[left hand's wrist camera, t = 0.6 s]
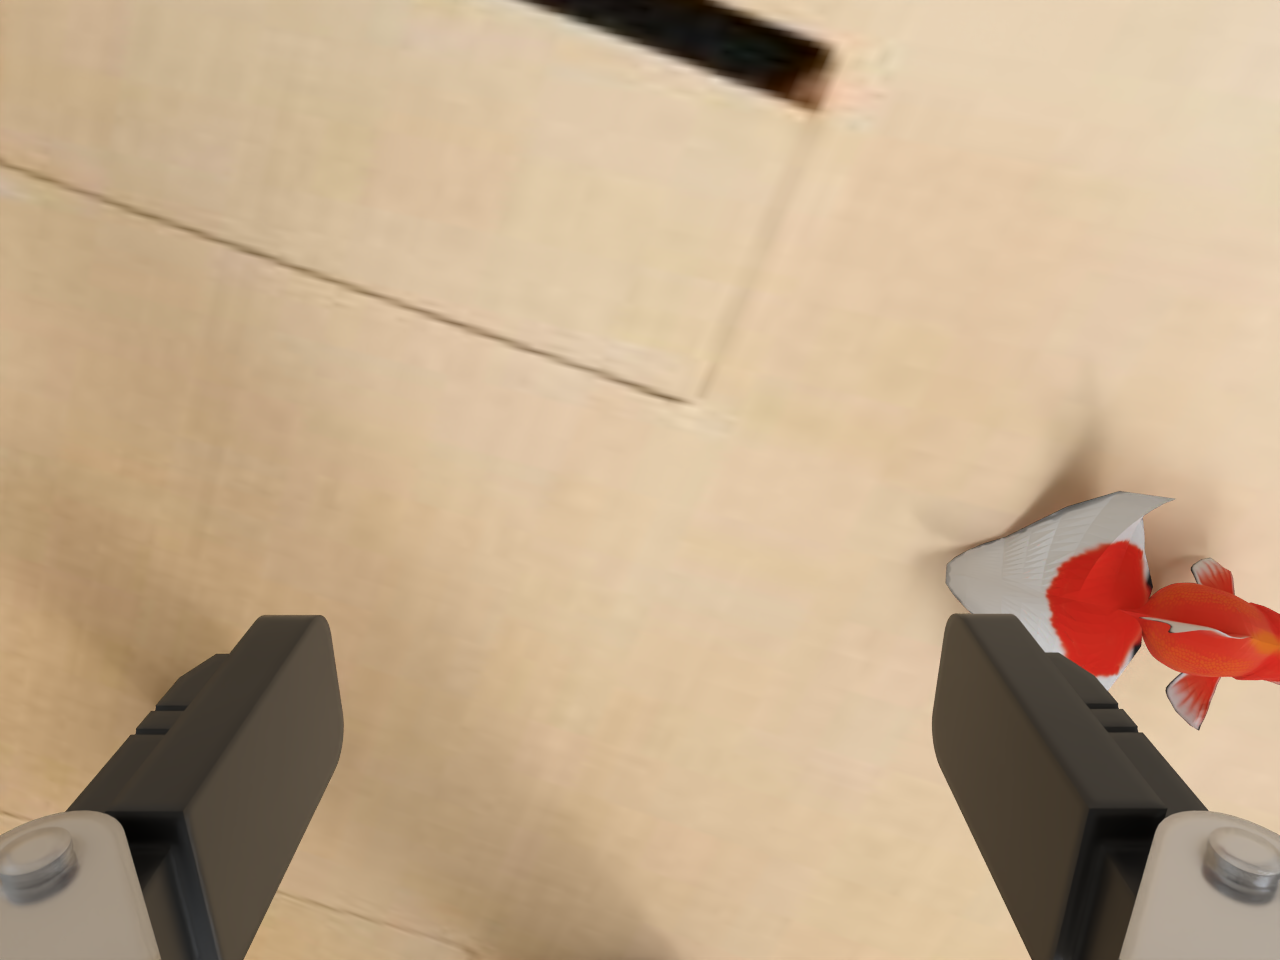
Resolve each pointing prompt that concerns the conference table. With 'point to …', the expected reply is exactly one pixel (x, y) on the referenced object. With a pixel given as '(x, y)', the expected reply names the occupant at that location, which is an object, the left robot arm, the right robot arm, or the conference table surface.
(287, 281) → the conference table surface
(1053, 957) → the left robot arm
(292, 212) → the conference table surface
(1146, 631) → the fish
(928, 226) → the conference table surface
